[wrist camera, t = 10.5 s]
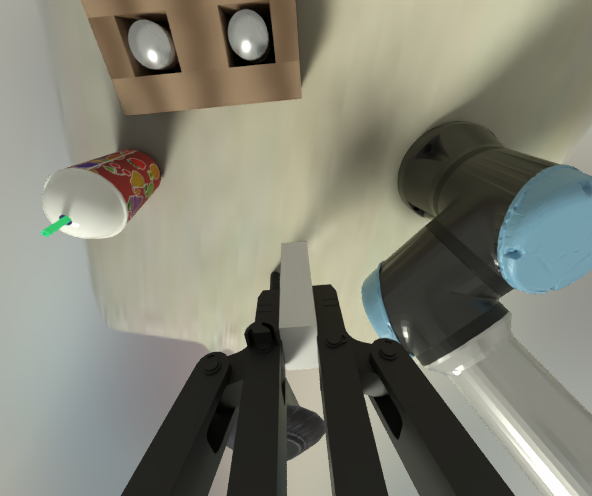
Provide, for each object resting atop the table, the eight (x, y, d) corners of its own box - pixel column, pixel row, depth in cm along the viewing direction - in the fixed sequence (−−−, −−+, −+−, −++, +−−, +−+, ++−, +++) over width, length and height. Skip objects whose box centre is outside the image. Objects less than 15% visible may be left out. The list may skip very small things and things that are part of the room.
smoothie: (106, 137, 39) (-29, 183, 22) (166, 146, 40) (83, 197, 23) (116, 191, 43) (11, 265, 26) (171, 198, 44) (103, 274, 27)
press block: (289, -27, 30) (291, -56, 24) (297, 94, 37) (301, 98, 30) (114, -9, 30) (67, -34, 24) (153, 109, 37) (125, 115, 30)
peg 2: (267, 21, 32) (264, 7, 26) (272, 61, 35) (270, 57, 28) (234, 24, 32) (223, 11, 26) (241, 64, 35) (232, 61, 28)
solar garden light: (245, 247, 50) (209, 422, 24) (309, 252, 51) (339, 422, 26) (243, 296, 56) (214, 474, 31) (301, 299, 58) (318, 473, 32)
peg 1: (185, 29, 32) (162, 17, 26) (195, 69, 35) (175, 67, 28) (152, 32, 32) (121, 21, 26) (164, 72, 35) (137, 71, 28)
